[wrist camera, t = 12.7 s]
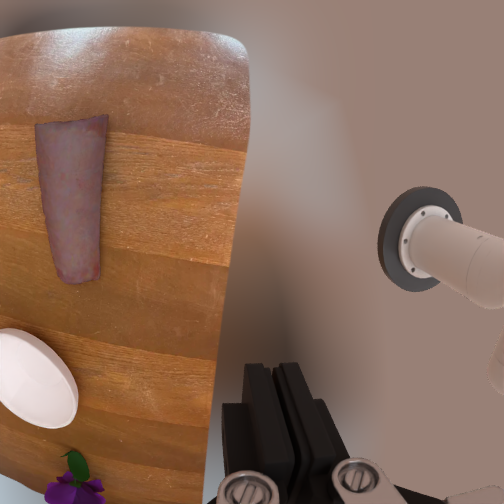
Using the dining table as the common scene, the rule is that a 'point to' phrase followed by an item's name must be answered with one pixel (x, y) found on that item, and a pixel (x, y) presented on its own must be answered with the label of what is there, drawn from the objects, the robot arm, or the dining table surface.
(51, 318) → the dining table surface
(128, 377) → the dining table surface
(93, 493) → the flower
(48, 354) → the bowl
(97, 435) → the dining table surface
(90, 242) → the brown tapered cylinder
